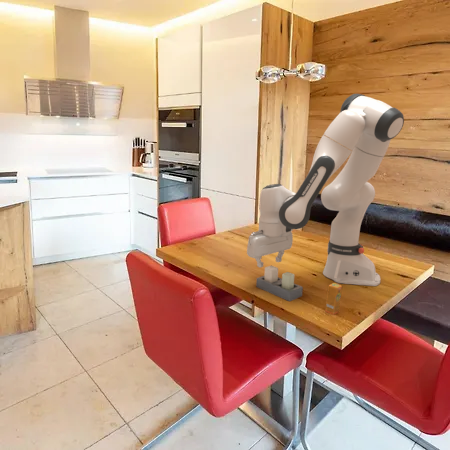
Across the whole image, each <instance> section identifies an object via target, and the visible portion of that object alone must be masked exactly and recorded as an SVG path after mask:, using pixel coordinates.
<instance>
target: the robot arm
mask: <svg viewBox="0 0 450 450" xmlns="http://www.w3.org/2000/svg"><path fill="white" fill-rule="evenodd" d="M339 111H340V112H339V114H338V115H336V117H335V118H334V119H333V120H332V121H331V123H329V125H328V127H327V128H326V129H325V131H324V133H323V135H321V137H320V139H319V141H318V143H317V146H316V148H315V151H314V154H313V158H312V162H311V165H310V169H309V171H308V174H307V175H306V177H305V178H304V180H303V181H302V183H301V185H300V186H299V188H298V189H297V191H296V192H295V191H292V190H290V189H288V188H286V187H285V186H284V185H283V184H280V183H274V184H268V185H265V186H264V187H263V188H262V189H261V191H260V195H259V205H258V206H259V209H258V210H259V219H258V231H253V232H251V234H250V235H249V236H248V240H247V245H246V246H247V248H246V254H247V256H248V257H249V258H253V259H255V261H256V266H257V267H258V268H263V267H264V262H263V261H262V258H263V257H264V256H268V255H271V254H276V253H277V256H275V262H276V263H281V262H282V258H283V256H284V254H285V251H287V250H290V249H291V248H292V246H293V231H294V230H300V229H302V228H303V227H305V226H306V225H307V224H308V222H309V220H310V216H311V209H312V206H313V205H314V204H313V203H314V202H315V201H316V199H317V197H318V196H319V194H320V192H321V194H320V199H321V200H320V201H321V203H322V205H323V206H324V208H326V209H327V210H329V211H335V212H338V213H337V214H336V217H335V218H334V219H333V220H332V221H331V224H330V234H329V241H328V242H327V258H326V259H327V260H326V262H325V266H324V268H323V271H322V274H323V275H324V277H326V278H328V279H330V280H332V281H334V283H337V284H345V285H355V286H356V285H357V286H358V285H359V286H371V287H372V286H373V287H376V286H379V285H380V284H381V275H380V274H379V273H377V272H376V266H375V263H374V262H373V261H372V260H371V259H370V258H369V257H368V256H366V255H365V253H364V252H365V248H364V245H363V244H360V243H359V239H360V231H361V225H362V222H363V219H364V217H365V214H366V212H367V210H368V207H369V206H370V205H371V203H372V202H373V201H374V200H375V197H376V189H375V186H373V184H371V182H369V181H370V179H372V178H373V177H374V176H375V175H376V173H377V172H378V170H379V167H380V165H381V163H382V161H383V160H384V157H385V155H386V153H387V151H388V149H389V146H390V144H391V141H392V140H393V139H394V138H396V137H397V136H398V135H399V134H400V133H401V131H402V129H403V126H404V123H405V118H404V117H405V116H404V114H403V113H402V111H401V110H399V109H398V108H397V107H392V106H391V105H390V104H389V103H386V102H385V101H382V100H379V99H375V98H373V97H370V96H366V95H365V94H363V93H353V94H351V95H349V96H348V97H347V98H346V99H345V100H344V101H343V102H342V105H341V107H340V110H339ZM347 159H348V160H347ZM346 160H347V162H346ZM345 162H346V163H345ZM344 163H345V165H344V166H343V168H342V169H341V170H340V172H339V173H338V175H337V176H336V177H335V178H334V179H333V181H331V182H330V183H329V184H328V185H326V186H325V184H326V183H327V182H328V180H329V179H330V178H331V177H332V176H333V175H334V174H335V173H336V172H337V171H338V170H339V168H341V166H342V165H343V164H344ZM324 186H325V187H324Z"/></svg>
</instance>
